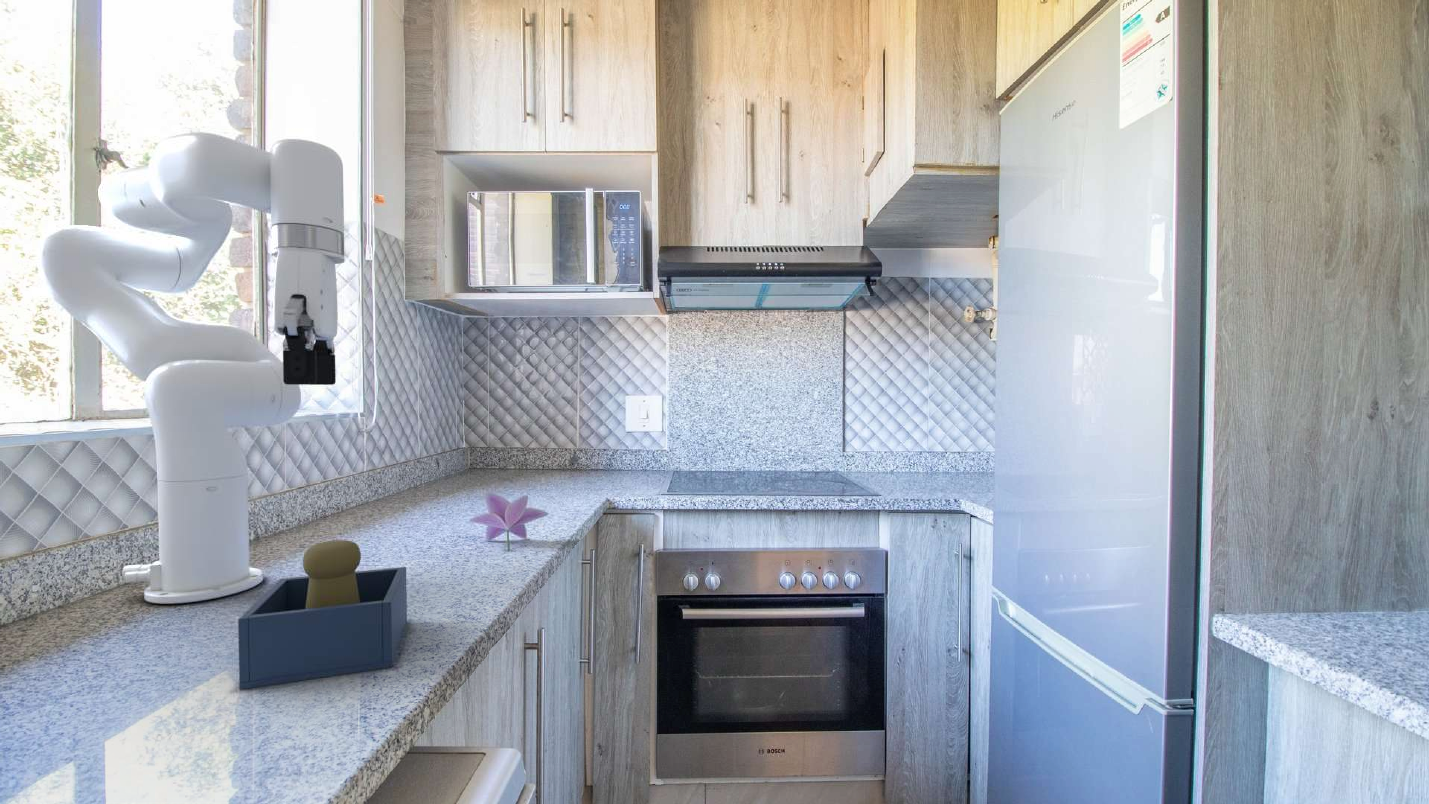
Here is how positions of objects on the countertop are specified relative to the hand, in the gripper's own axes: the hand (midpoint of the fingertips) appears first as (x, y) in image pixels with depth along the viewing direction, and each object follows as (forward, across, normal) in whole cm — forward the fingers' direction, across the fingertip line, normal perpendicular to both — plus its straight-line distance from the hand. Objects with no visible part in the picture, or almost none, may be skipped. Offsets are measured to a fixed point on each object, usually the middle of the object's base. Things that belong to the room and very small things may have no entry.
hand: (311, 384), depth 76 cm
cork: (+28, +15, +5) cm, 32 cm away
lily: (+28, -24, +24) cm, 44 cm away
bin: (+28, +15, +5) cm, 32 cm away
